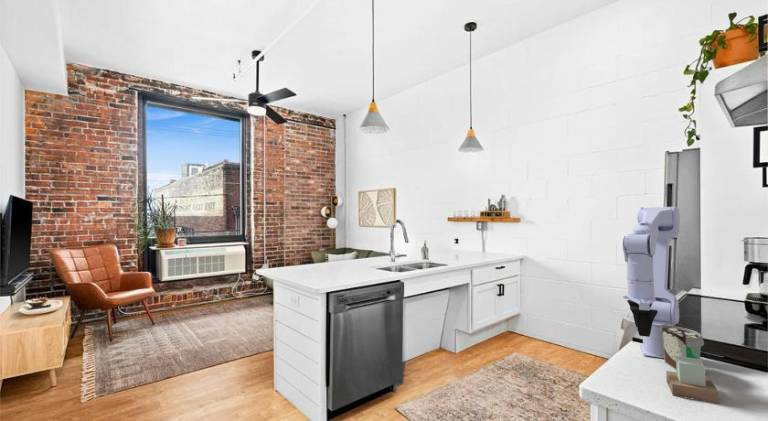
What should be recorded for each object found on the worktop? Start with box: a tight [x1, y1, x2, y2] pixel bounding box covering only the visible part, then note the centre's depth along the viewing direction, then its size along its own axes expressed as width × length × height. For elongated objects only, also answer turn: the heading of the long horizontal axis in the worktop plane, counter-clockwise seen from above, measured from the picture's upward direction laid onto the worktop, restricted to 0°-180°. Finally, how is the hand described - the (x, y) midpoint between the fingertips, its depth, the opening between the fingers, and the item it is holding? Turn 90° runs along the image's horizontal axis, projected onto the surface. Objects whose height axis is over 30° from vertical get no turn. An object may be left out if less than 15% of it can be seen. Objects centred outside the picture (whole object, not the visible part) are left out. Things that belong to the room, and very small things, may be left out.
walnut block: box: [665, 370, 720, 404], centre depth 84 cm, size 8×8×3 cm
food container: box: [661, 325, 705, 371], centre depth 95 cm, size 12×6×10 cm, turn 168°
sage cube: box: [675, 356, 706, 387], centre depth 84 cm, size 4×4×4 cm
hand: (642, 331), depth 95 cm, fingers open, 7 cm apart
